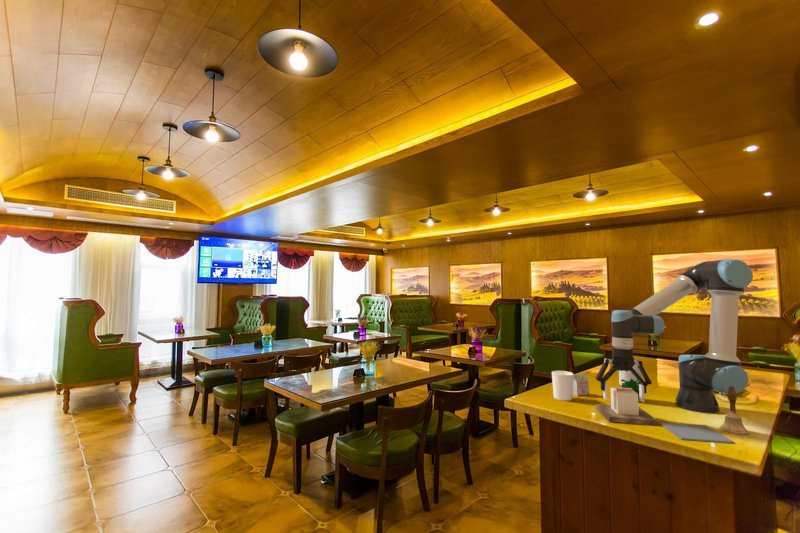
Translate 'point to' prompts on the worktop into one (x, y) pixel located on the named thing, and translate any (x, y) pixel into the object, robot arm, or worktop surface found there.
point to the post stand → (626, 416)
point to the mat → (695, 432)
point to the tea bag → (580, 385)
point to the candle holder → (562, 385)
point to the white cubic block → (624, 401)
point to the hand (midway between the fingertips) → (623, 400)
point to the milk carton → (630, 379)
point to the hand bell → (733, 416)
